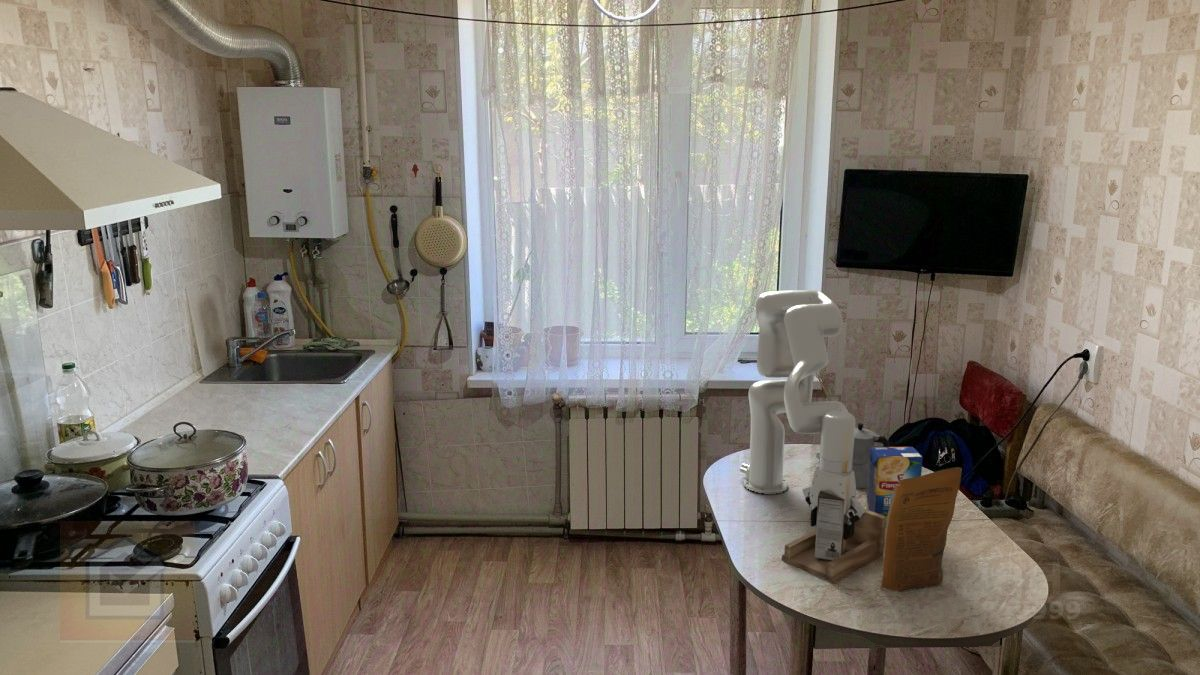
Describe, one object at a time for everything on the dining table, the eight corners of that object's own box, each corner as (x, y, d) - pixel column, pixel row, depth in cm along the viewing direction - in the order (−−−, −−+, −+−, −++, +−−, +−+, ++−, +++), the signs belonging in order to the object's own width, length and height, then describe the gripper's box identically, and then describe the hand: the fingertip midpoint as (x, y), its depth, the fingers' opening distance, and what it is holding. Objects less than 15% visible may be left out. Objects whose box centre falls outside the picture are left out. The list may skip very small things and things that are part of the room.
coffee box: (819, 540, 221) (823, 480, 217) (846, 545, 218) (850, 484, 214) (814, 557, 212) (817, 495, 208) (841, 562, 210) (845, 499, 206)
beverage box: (916, 538, 226) (923, 456, 220) (872, 539, 225) (878, 457, 220) (906, 526, 232) (913, 446, 227) (864, 527, 232) (869, 447, 227)
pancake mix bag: (960, 586, 203) (972, 470, 196) (886, 598, 198) (896, 480, 191) (941, 572, 209) (952, 459, 202) (869, 583, 204) (878, 469, 197)
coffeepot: (828, 481, 261) (831, 423, 256) (841, 471, 268) (845, 414, 264) (879, 495, 251) (884, 434, 247) (892, 484, 259) (897, 425, 254)
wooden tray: (781, 559, 215) (783, 520, 213) (830, 534, 228) (832, 497, 226) (834, 583, 204) (837, 542, 202) (883, 555, 217) (886, 516, 215)
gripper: (795, 457, 214) (792, 523, 218) (859, 478, 201) (854, 549, 205) (814, 449, 218) (810, 514, 223) (877, 470, 206) (872, 538, 210)
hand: (831, 531), depth 214 cm, fingers closed on coffee box, 8 cm apart
